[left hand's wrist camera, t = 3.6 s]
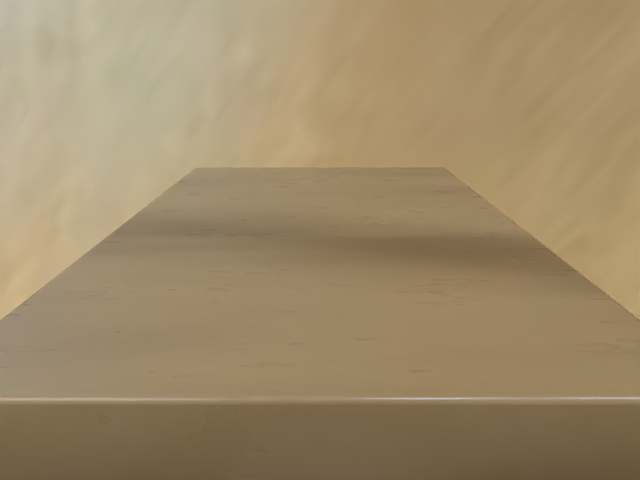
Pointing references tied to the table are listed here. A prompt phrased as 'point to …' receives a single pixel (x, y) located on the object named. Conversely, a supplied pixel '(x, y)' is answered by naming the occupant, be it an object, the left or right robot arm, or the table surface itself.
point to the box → (320, 342)
